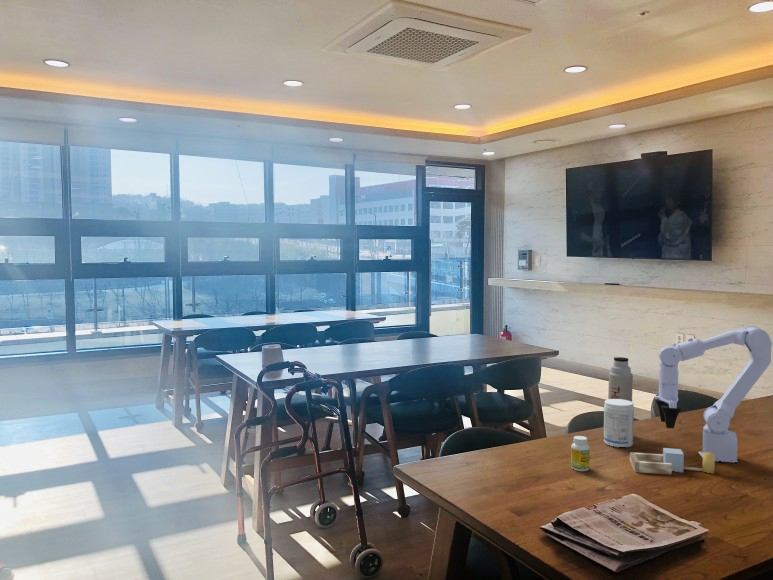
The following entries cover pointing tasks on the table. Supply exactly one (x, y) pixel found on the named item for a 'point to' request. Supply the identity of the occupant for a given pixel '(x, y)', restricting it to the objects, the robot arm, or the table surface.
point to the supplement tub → (618, 422)
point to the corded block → (678, 460)
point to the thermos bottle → (620, 380)
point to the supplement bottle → (580, 454)
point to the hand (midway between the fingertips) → (667, 424)
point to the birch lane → (649, 463)
